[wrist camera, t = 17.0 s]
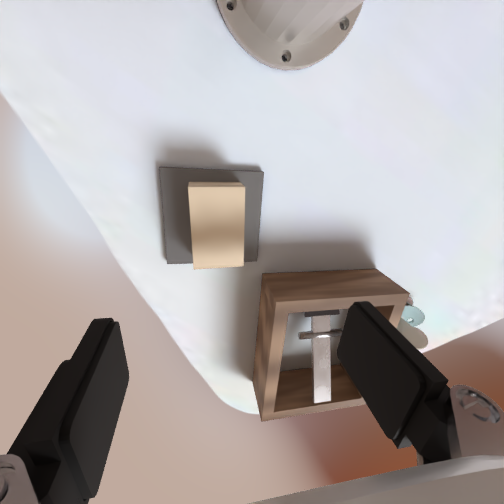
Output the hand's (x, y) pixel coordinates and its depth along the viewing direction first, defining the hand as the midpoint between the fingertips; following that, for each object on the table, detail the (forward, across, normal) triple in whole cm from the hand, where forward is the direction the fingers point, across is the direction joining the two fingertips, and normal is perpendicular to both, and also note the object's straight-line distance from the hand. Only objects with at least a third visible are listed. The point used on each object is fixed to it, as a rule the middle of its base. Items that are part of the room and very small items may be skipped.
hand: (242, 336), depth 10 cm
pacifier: (+19, -27, +16) cm, 36 cm away
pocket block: (+18, -14, +17) cm, 29 cm away
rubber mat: (+18, 0, +1) cm, 18 cm away
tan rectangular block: (+18, 0, +1) cm, 18 cm away
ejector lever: (+15, -14, +17) cm, 27 cm away
